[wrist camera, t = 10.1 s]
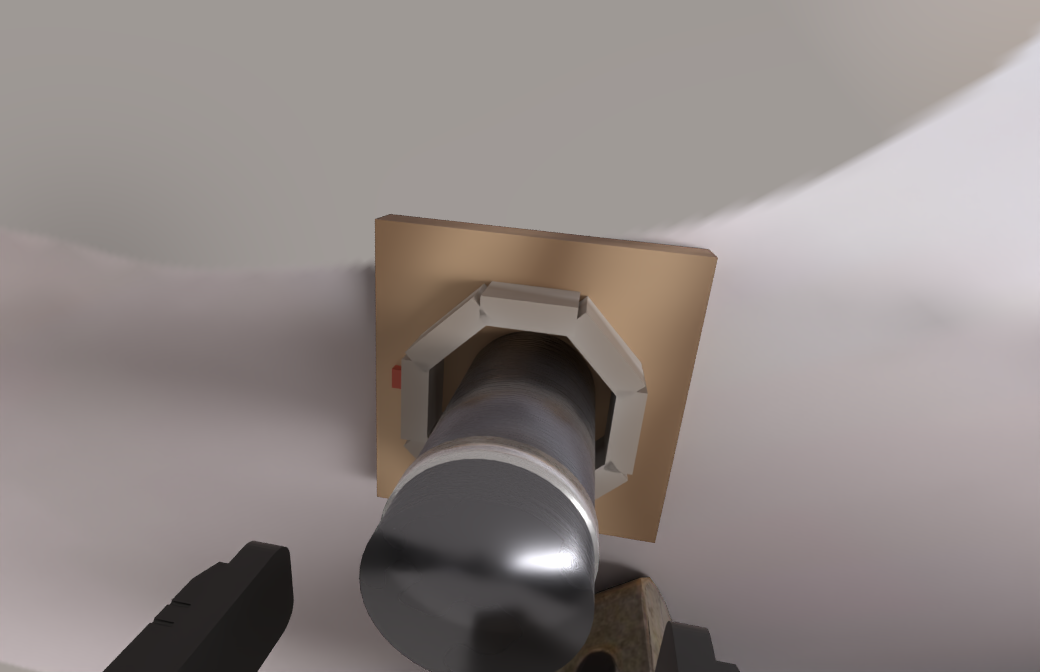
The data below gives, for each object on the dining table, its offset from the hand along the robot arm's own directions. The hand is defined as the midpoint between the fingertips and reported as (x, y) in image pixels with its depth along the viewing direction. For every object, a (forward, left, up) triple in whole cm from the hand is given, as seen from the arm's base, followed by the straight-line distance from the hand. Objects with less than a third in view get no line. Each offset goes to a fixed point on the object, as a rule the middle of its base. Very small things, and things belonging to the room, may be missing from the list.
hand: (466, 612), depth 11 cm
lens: (0, 0, -10) cm, 10 cm away
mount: (0, 0, -12) cm, 12 cm away
